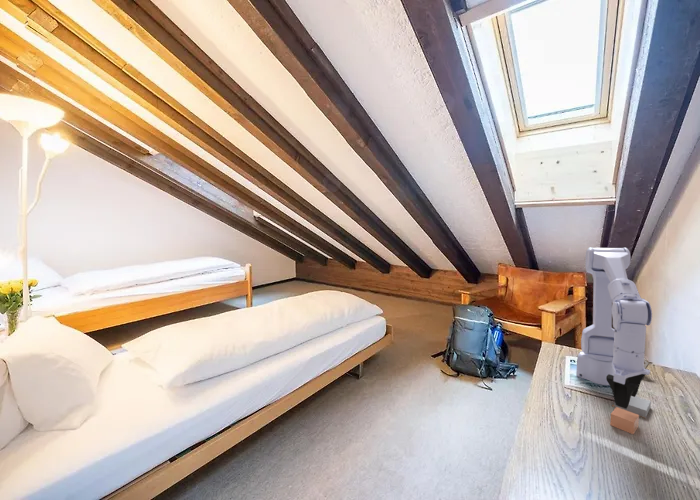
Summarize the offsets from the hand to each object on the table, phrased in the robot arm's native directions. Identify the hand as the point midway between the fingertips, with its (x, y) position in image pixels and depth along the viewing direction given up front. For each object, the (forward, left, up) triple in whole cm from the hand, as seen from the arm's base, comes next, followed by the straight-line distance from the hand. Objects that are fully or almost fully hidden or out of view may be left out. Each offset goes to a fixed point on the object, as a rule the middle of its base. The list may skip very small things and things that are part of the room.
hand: (625, 400), depth 79 cm
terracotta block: (0, 0, -8) cm, 8 cm away
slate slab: (-1, +11, -7) cm, 13 cm away
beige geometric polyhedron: (-6, +37, -8) cm, 38 cm away
